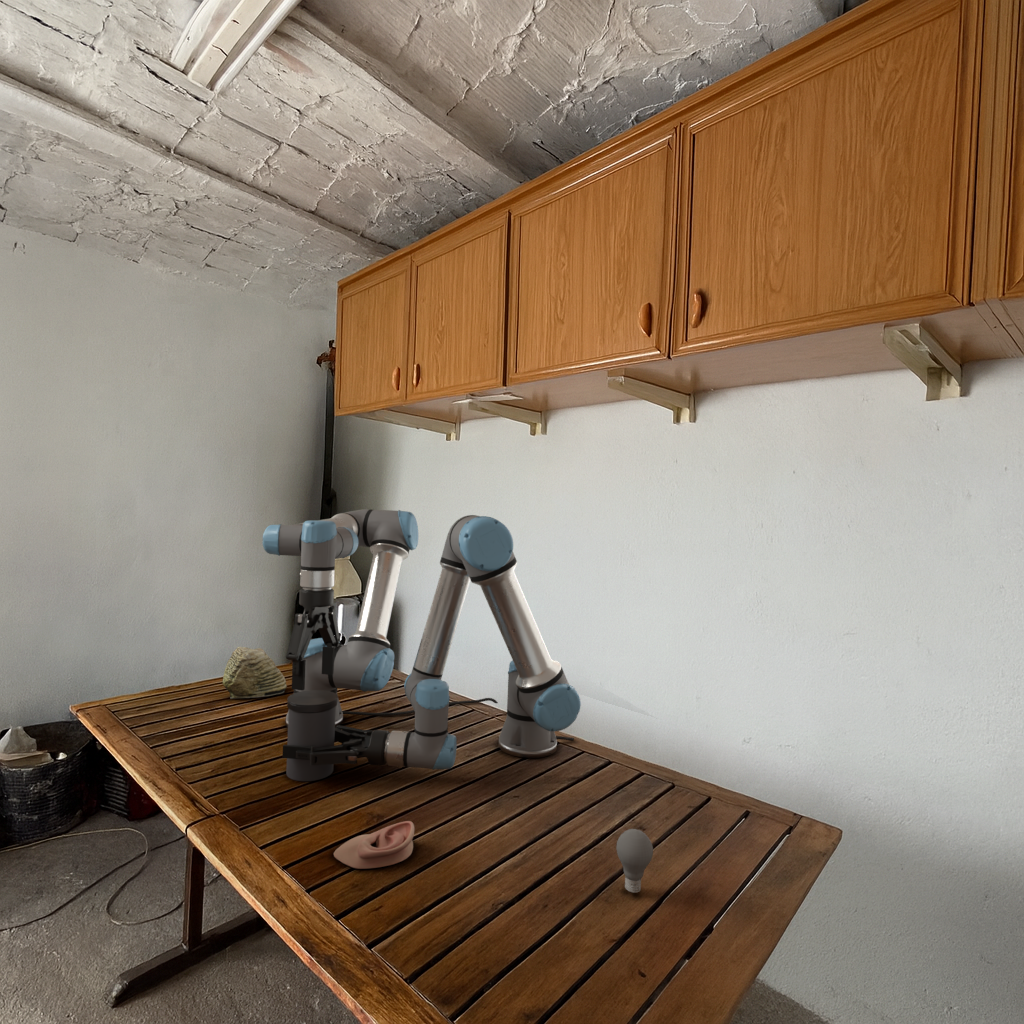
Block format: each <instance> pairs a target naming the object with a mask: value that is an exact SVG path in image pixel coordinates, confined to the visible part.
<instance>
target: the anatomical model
mask: <svg viewBox="0 0 1024 1024" xmlns="http://www.w3.org/2000/svg"><path fill="white" fill-rule="evenodd" d="M414 836H415V824H414V823H413V822H412V821H411V820H405V821H400V822H397V823H393V824H391V825H388V826H386V827H383V828H381V829H379V830H376V831H373V832H371V833H368V834H367V833H366V834H361V835H357V836H355V837H353V838H351V839H349V840H347V841H345V842H344V843H342V844H341V845H340V846H338V847H337V848H336V849H335V851H334V852H333V857H334V858H335V859H336V860H337V861H339V862H341V863H342V864H344V865H346V866H348V867H350V868H353V869H357V870H367V869H376V868H377V869H378V868H382V867H387V866H388V867H389V866H393V865H395V864H398V863H400V862H403V861H405V860H407V859H408V858H409V857H410V856H411V855H412V853H413V850H414V841H413V839H414Z"/></svg>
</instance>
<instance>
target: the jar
mask: <svg viewBox="0 0 1024 1024" xmlns="http://www.w3.org/2000/svg"><path fill="white" fill-rule="evenodd" d="M288 710H289V715H288V727H287V743H286V745H298V746H314V749H315V748H322V747H329V746H335V741H334V739H335V728H336V727H335V713H336V706H335V707H334V708H332V709H329V710H326V711H321V712H312V713H304V712H296V711H292V710H290V709H289V708H288ZM334 765H335V764H327V765H310V760H305V759H290V758H286V768H285V769H286V771H285V773H286V774H285V775H286V777H288V778H289V779H290V780H292V781H295V782H296V781H297V782H315V781H318V780H322V779H325V778H327V777H329V776H331V774H333V772H334Z"/></svg>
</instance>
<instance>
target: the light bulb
mask: <svg viewBox="0 0 1024 1024" xmlns="http://www.w3.org/2000/svg"><path fill="white" fill-rule="evenodd" d="M615 849H616V854H617V857H618V859H619V861H620V863H621V865H622V867H623V873H624V874H623V875H624V876H625V878H624V888H625V890H627V891H628V892H630V893H634V894H635V893H639V892H640V891H641V889H642V887H641V886H642V879H643V877H644V875H645V871H646V868H647V867H648V866H649V864H650V863H651V861H652V859H653V855H654V847H653V843H652V841H651V838H649V836H648V835H647V834H646V833H645V832H643V831H642V830H641V829H636V828H629V829H627V830H625V831H623V832H622V833H621V834H620V835H619V837H618V839H617V841H616V847H615Z"/></svg>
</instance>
